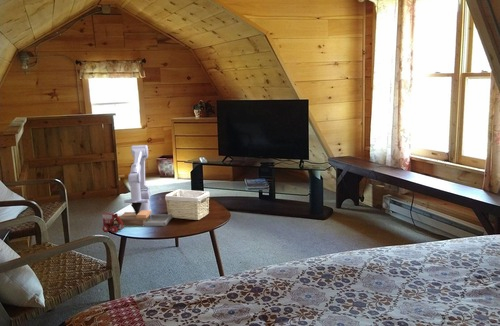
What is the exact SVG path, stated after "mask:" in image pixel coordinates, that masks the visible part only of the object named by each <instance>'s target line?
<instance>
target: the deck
mask: <svg viewBox="0 0 500 326" xmlns="http://www.w3.org/2000/svg"><path fill="white" fill-rule="evenodd" d="M119 217H120V218H121V220H122V222H123V227H145V226H144V222H147V221H148V220H149V219H150V218H151V214H150V215H149V216H148V217H147V218H137V217H136V213H135V211H133V212H132V211H129V212H126V211H125V212H124V213H122V215H120V216H119Z"/></svg>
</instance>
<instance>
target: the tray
mask: <svg viewBox="0 0 500 326" xmlns="http://www.w3.org/2000/svg"><path fill="white" fill-rule="evenodd" d="M150 216H151V218H150V219H149V220H148V221H147V222H144V226H143V227H166V226H167V225H168V224H169V223H170V221H172V219H173V218H172V214H168V213H167V214H166V213H164V214H163V213H161V214H159V213H158V214H155V213H154V214H153V213H151V214H150Z"/></svg>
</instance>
